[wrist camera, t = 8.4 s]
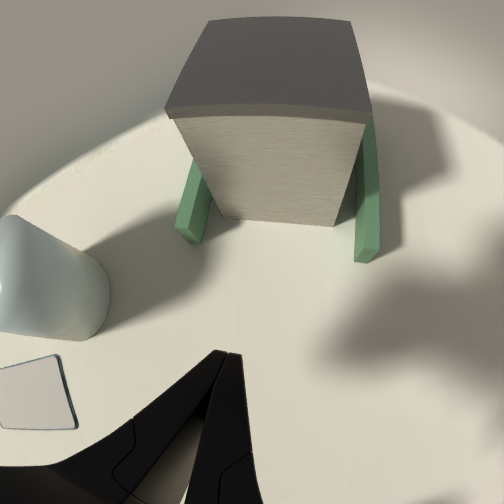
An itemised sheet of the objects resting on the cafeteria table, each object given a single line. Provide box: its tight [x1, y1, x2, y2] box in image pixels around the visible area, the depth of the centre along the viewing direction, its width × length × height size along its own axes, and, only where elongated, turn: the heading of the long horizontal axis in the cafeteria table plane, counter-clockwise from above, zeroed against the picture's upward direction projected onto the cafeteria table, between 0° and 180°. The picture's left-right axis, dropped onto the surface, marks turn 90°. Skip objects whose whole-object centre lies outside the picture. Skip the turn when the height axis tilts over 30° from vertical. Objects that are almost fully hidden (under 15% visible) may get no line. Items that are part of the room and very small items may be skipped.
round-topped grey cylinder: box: [0, 215, 110, 341], centre depth 17 cm, size 8×8×9 cm
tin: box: [164, 17, 372, 227], centre depth 16 cm, size 8×8×12 cm
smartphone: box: [0, 354, 78, 430], centre depth 19 cm, size 7×1×15 cm
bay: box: [174, 107, 380, 263], centre depth 20 cm, size 12×13×3 cm
